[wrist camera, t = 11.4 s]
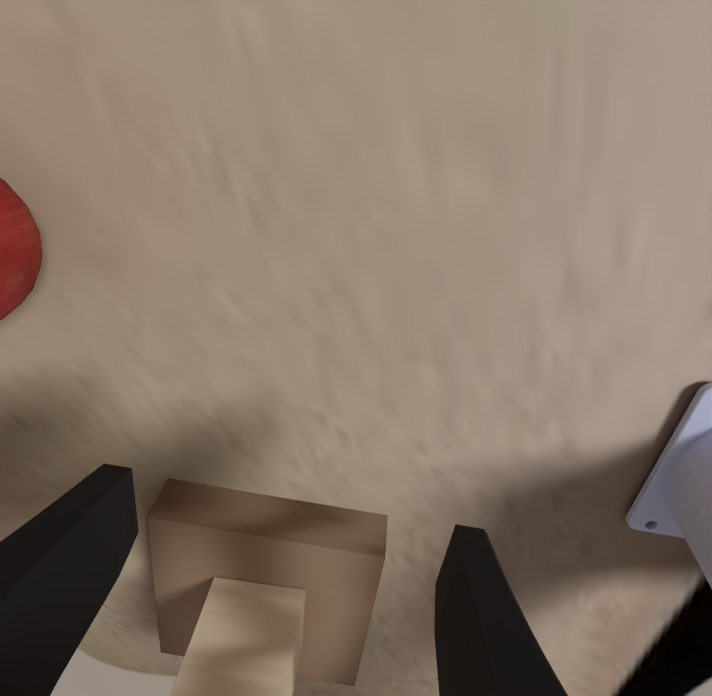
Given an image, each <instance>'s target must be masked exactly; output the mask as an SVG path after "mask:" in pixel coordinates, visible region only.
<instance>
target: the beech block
mask: <svg viewBox="0 0 712 696" xmlns="http://www.w3.org/2000/svg"><path fill="white" fill-rule="evenodd" d="M305 593H306V590H302V589H295V588H288V587H281V586H274V585H267V584H260V583H253V582H246V581H239V580H232V579H225V578H218V577H214V579H213V582H212V585H211V587H210V590H209V593H208V595H207V598H206V601H205V603H204V606H203V609H202V611H201V614H200V617H199V620H198V622H197V625H196V628H195V630H194V633H193V636H192V638H191V641H190V644H189V646H188V649H187V652H186V654H185V657H184V660H183V662H182V665H181V668H180V670H179V673H178V676H177V678H176V681H175V684H174V686H173V689H172V692H171V695H170V696H293V692H294V686H295V681H296V676H297V670H298V665H299V660H300V654H301V649H302V644H303V628H304V610H305Z"/></svg>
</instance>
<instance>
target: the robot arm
mask: <svg viewBox="0 0 712 696" xmlns="http://www.w3.org/2000/svg"><path fill="white" fill-rule="evenodd" d="M626 521H627V523H628V526H629V527H630V528H631V529H634V530H639V531H645V532H651V533H656V534H662V535H668V536H674V537H680V538H685V540H686V542H687V544H688V545H689V547H690V549H691V551H692V553H693V555H694V557H695V558H696V560H697V562H698V564H699V566H700V568H701V570H702V571H703V573H704V575H705V577H706V579H707V581H708V583H709V584H710V586H711V588H712V383H708V384H705V385H703V386H702V387H700V389H699V390H698V391H697V393H696V395H695V396H694V398H693V400H692V402H691V403H690V405H689V407H688V409H687V410H686V412H685V414H684V416H683V417H682V419H681V421H680V423H679V424H678V426H677V428H676V430H675V431H674V433H673V435H672V436H671V438H670V440H669V442H668V443H667V445H666V447H665V449H664V450H663V452H662V454H661V456H660V457H659V459H658V461H657V463H656V464H655V466H654V468H653V470H652V471H651V473H650V475H649V477H648V478H647V480H646V482H645V484H644V485H643V487H642V489H641V491H640V492H639V494H638V496H637V498H636V499H635V501H634V503H633V505H632V506H631V508H630V510H629V512H628V513H627V515H626ZM649 521H651V522H649ZM138 532H139V531H138V522H137V513H136V504H135V495H134V486H133V477H132V468H127V467H121V466H115V465H109V464H103V465H102V466H100V467H99V468H98V469H96V470H95V471H94V472H92V473H91V474H90V475H89V476H87V477H86V478H85V479H83V480H82V481H81V482H79V483H78V484H77V485H76V486H74V487H73V488H72V489H70V490H69V491H68V492H67V493H65V494H64V495H63V496H61V497H60V498H59V499H57V500H56V501H55V502H54V503H52V504H51V505H50V506H48V507H47V508H46V509H44V510H43V511H42V512H40V513H39V514H38V515H36V516H35V517H34V518H32V519H31V520H30V521H28V522H27V523H25V524H24V525H23V526H21V527H20V528H19V529H17V530H16V531H15V532H13V533H12V534H11V535H9V536H8V537H6V538H5V539H4V540H2V541H1V542H0V696H50V694H51V693H52V690H53V689H54V687H55V685H56V683H57V681H58V680H59V678H60V676H61V674H62V673H63V671H64V669H65V668H66V666H67V664H68V663H69V661H70V659H71V657H72V656H73V654H74V652H75V651H76V649H77V647H78V646H79V644H80V642H81V640H82V639H83V637H84V635H85V634H86V632H87V630H88V629H89V627H90V625H91V623H92V622H93V620H94V618H95V617H96V615H97V613H98V612H99V610H100V608H101V606H102V605H103V603H104V601H105V600H106V598H107V596H108V594H109V593H110V591H111V589H112V587H113V586H114V584H115V582H116V580H117V579H118V577H119V575H120V573H121V570H122V568H123V566H124V564H125V562H126V559H127V557H128V555H129V553H130V550H131V548H132V546H133V543H134V541H135V539H136V536H137V534H138ZM435 645H436V657H437V670H438V682H439V694H440V696H568V695H567V693H566V692H565V690H564V688H563V686H562V685H561V683H560V681H559V680H558V678H557V676H556V674H555V673H554V671H553V669H552V667H551V666H550V664H549V662H548V660H547V659H546V657H545V655H544V653H543V651H542V650H541V648H540V646H539V644H538V642H537V640H536V638H535V637H534V635H533V633H532V631H531V629H530V627H529V625H528V623H527V621H526V619H525V617H524V615H523V613H522V611H521V609H520V607H519V605H518V603H517V601H516V599H515V597H514V595H513V593H512V590H511V588H510V586H509V584H508V582H507V579H506V577H505V575H504V573H503V571H502V568H501V566H500V564H499V562H498V559H497V557H496V555H495V552H494V550H493V547H492V545H491V542H490V540H489V537H488V535H487V533H486V532H485V530H484V529H479V528H474V527H468V526H462V525H455V528H454V531H453V534H452V537H451V540H450V543H449V546H448V549H447V552H446V555H445V558H444V561H443V564H442V567H441V569H440V572H439V575H438V578H437V581H436V592H435Z"/></svg>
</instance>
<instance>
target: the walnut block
mask: <svg viewBox="0 0 712 696" xmlns="http://www.w3.org/2000/svg"><path fill="white" fill-rule="evenodd" d="M387 517H388V516H387V515H381V514H375V513H369V512H363V511H357V510H351V509H345V508H339V507H334V506H328V505H322V504H316V503H310V502H304V501H298V500H292V499H286V498H280V497H274V496H268V495H262V494H256V493H250V492H244V491H238V490H232V489H226V488H220V487H214V486H209V485H203V484H197V483H191V482H185V481H179V480H173V479H168V480H167V482H166V484H165V486H164V487H163V489H162V491H161V493H160V494H159V496H158V498H157V500H156V501H155V503H154V505H153V507H152V508H151V510H150V512H149V514H148V516H147V525H148V535H149V544H150V554H151V563H152V573H153V582H154V592H155V601H156V611H157V620H158V630H159V639H160V649H161V652H162V653H168V654H174V655H179V656H185V654H186V652H187V649H188V646H189V644H190V641H191V638H192V636H193V633H194V630H195V628H196V625H197V622H198V620H199V617H200V614H201V611H202V609H203V606H204V603H205V601H206V598H207V595H208V593H209V590H210V587H211V585H212V582H213V579H214V577H218V578H225V579H232V580H239V581H246V582H253V583H260V584H267V585H274V586H281V587H288V588H295V589H302V590H306V593H305V610H304V628H303V644H302V649H301V654H300V660H299V665H298V670H297V676H299V677H305V678H310V679H316V680H322V681H327V682H333V683H339V684H344V685H350V686H354V685H355V681H356V677H357V672H358V668H359V664H360V660H361V656H362V652H363V647H364V643H365V639H366V635H367V631H368V627H369V622H370V618H371V614H372V610H373V606H374V601H375V597H376V593H377V589H378V585H379V581H380V576H381V572H382V568H383V564H384V560H385V549H386V533H387Z"/></svg>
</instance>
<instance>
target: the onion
mask: <svg viewBox="0 0 712 696" xmlns="http://www.w3.org/2000/svg"><path fill="white" fill-rule="evenodd" d="M41 260H42V249H41V240H40V232H39V230H38V228H37V226H36V223H35V221H34V219H33V217H32V215H31V213H30V211H29V209H28V207H27V205H26V204H25V203H24V202H23V201H22V200H21V199H20V197H19V196H18V195H17V194H16V193H15V192H14V191H13V190H12V188H11V187H10V186H9V185H8V184H7V183H6V182H5V181H4V180H2V179H1V178H0V320H2V319H3V318H5V317H6V316H7V315H8V314H9V313H10V312H12V311H13V310H14V309H15V308H16V307H18V306H19V305H20V304H21V303H22V302H23V301H24V300H25V298H26V297H27V296H28V295H29V293H30V292H31V291H32V290H33V287H34V284H35V281H36V278H37V275H38V273H39V270H40V266H41Z"/></svg>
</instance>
